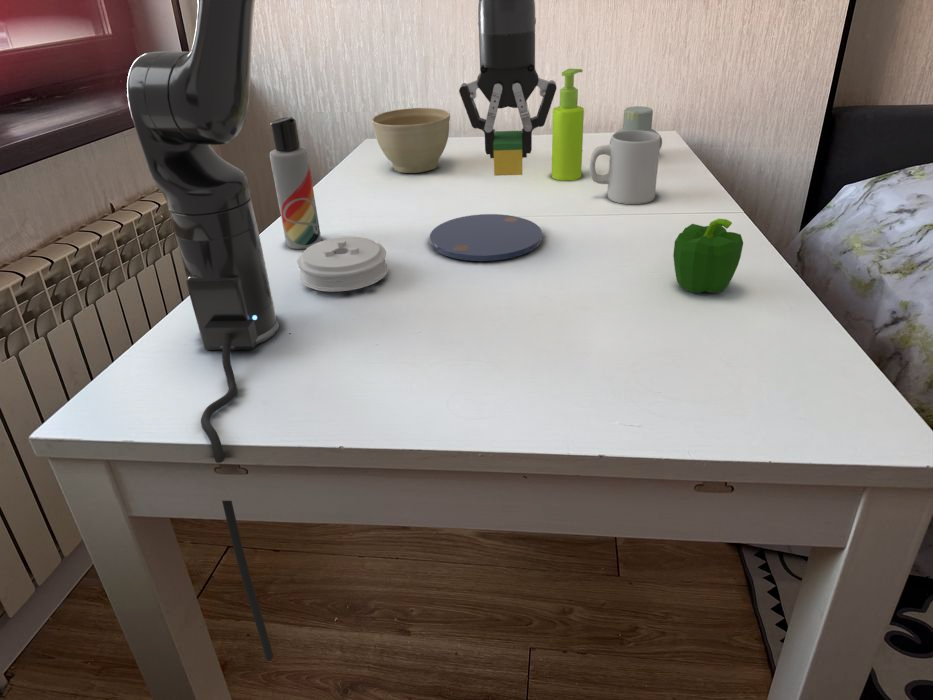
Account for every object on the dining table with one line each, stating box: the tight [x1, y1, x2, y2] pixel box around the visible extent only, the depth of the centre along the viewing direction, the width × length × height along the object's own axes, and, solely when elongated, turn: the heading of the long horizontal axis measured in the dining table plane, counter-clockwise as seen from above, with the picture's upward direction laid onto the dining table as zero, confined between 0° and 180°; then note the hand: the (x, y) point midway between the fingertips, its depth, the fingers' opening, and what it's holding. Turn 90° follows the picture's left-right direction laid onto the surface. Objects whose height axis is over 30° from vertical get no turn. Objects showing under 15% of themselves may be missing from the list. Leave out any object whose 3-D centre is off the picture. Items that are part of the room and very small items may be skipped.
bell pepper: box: [672, 218, 744, 294], centre depth 92 cm, size 8×8×10 cm
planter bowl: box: [371, 107, 451, 174], centre depth 147 cm, size 16×16×11 cm
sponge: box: [493, 130, 523, 177], centre depth 101 cm, size 7×4×4 cm, turn 176°
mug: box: [589, 130, 661, 205], centre depth 125 cm, size 12×8×11 cm
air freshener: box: [609, 105, 663, 151], centre depth 147 cm, size 11×8×10 cm
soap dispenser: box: [551, 68, 585, 182], centre depth 135 cm, size 6×7×20 cm
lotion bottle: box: [269, 116, 322, 250], centre depth 109 cm, size 6×6×20 cm
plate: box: [429, 213, 543, 262], centre depth 112 cm, size 18×18×1 cm
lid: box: [297, 236, 389, 293], centre depth 100 cm, size 13×13×5 cm
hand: (508, 156), depth 101 cm, fingers closed on sponge, 4 cm apart
